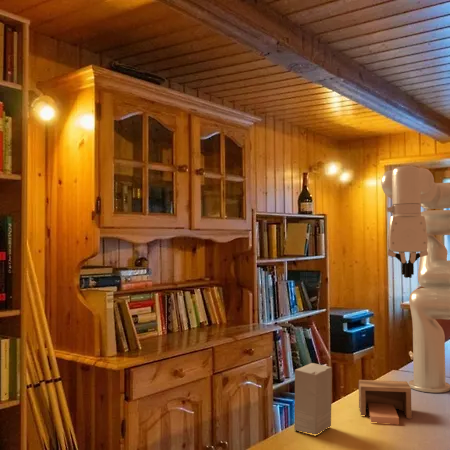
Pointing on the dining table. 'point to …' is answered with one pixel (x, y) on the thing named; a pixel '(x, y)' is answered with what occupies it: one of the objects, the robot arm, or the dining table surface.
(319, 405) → the skincare box
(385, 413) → the terracotta tile
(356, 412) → the dining table surface
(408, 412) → the tan open box
